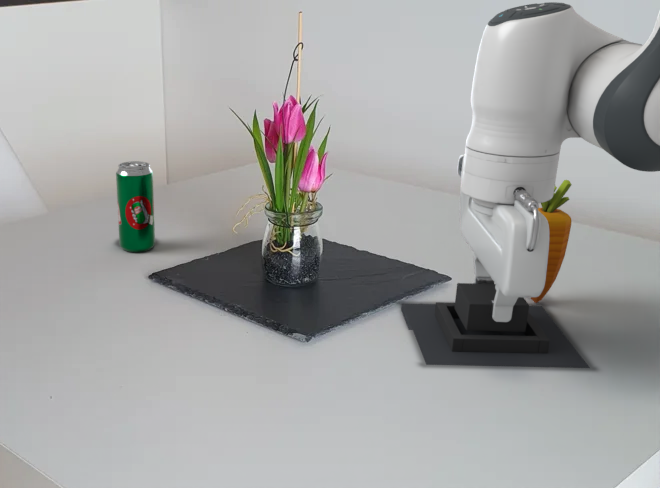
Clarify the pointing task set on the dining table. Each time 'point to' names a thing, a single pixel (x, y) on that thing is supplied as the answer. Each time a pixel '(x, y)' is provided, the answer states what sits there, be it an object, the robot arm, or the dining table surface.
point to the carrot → (555, 235)
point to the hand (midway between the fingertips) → (490, 305)
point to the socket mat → (489, 340)
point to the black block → (486, 309)
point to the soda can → (135, 206)
